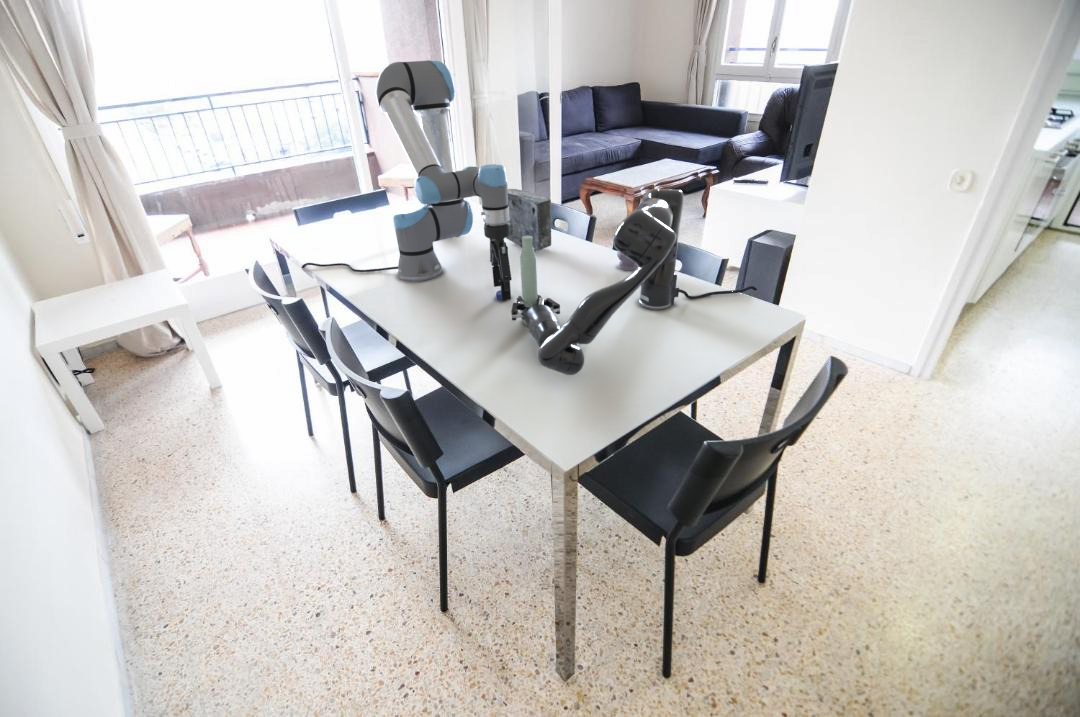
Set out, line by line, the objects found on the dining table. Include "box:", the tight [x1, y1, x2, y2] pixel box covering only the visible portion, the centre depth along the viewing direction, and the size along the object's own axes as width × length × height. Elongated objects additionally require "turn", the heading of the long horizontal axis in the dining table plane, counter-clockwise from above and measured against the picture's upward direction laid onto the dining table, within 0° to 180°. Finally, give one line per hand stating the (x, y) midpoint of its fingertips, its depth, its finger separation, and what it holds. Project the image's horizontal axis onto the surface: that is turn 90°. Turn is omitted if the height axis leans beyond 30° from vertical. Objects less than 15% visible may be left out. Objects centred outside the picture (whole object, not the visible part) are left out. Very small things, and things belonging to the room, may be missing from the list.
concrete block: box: [504, 188, 552, 251], centre depth 192 cm, size 27×9×20 cm, turn 36°
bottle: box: [519, 236, 538, 326], centre depth 135 cm, size 4×4×25 cm
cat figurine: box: [616, 250, 638, 271], centre depth 171 cm, size 9×8×12 cm
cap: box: [495, 289, 507, 302], centre depth 155 cm, size 4×4×2 cm
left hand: (502, 292), depth 155 cm, fingers open, 10 cm apart
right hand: (527, 298), depth 141 cm, fingers closed on bottle, 4 cm apart
